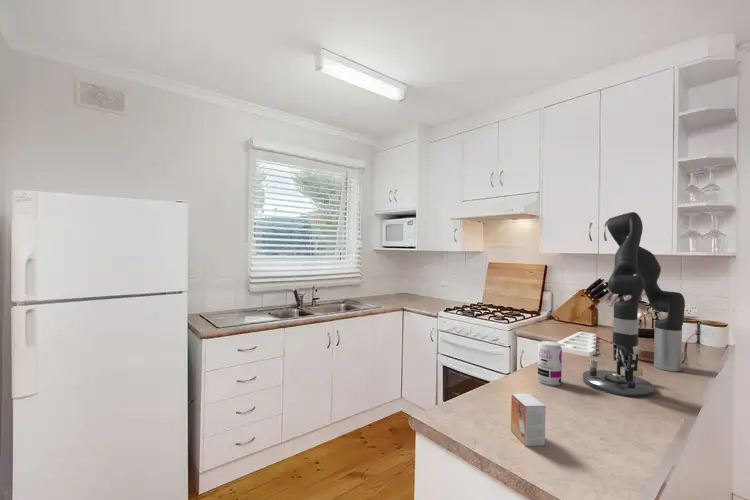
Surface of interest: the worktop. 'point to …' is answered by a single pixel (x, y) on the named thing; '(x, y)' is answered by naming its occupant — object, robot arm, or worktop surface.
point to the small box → (528, 419)
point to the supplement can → (549, 362)
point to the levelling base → (617, 384)
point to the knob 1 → (593, 366)
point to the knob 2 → (635, 373)
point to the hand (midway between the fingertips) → (624, 377)
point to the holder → (579, 344)
